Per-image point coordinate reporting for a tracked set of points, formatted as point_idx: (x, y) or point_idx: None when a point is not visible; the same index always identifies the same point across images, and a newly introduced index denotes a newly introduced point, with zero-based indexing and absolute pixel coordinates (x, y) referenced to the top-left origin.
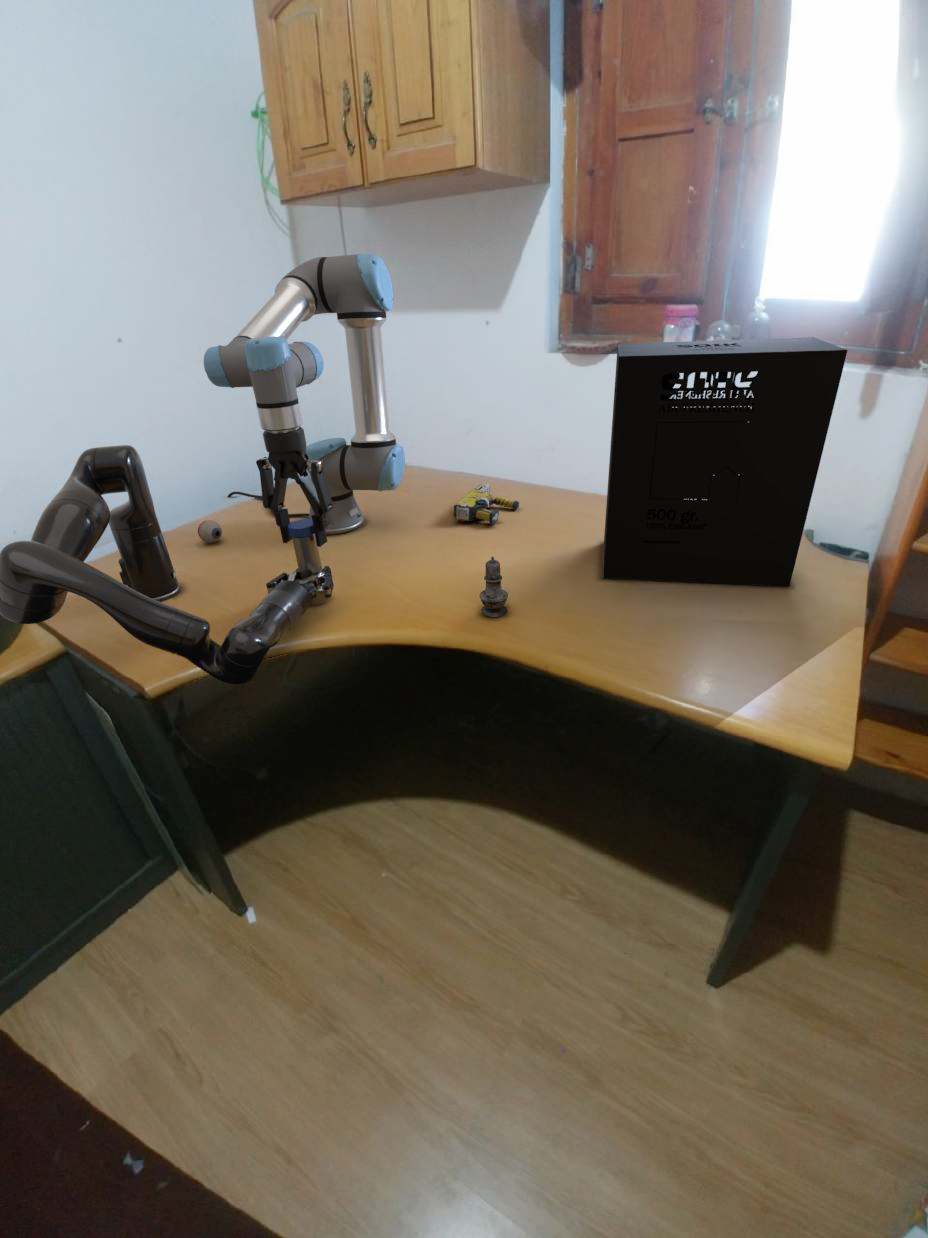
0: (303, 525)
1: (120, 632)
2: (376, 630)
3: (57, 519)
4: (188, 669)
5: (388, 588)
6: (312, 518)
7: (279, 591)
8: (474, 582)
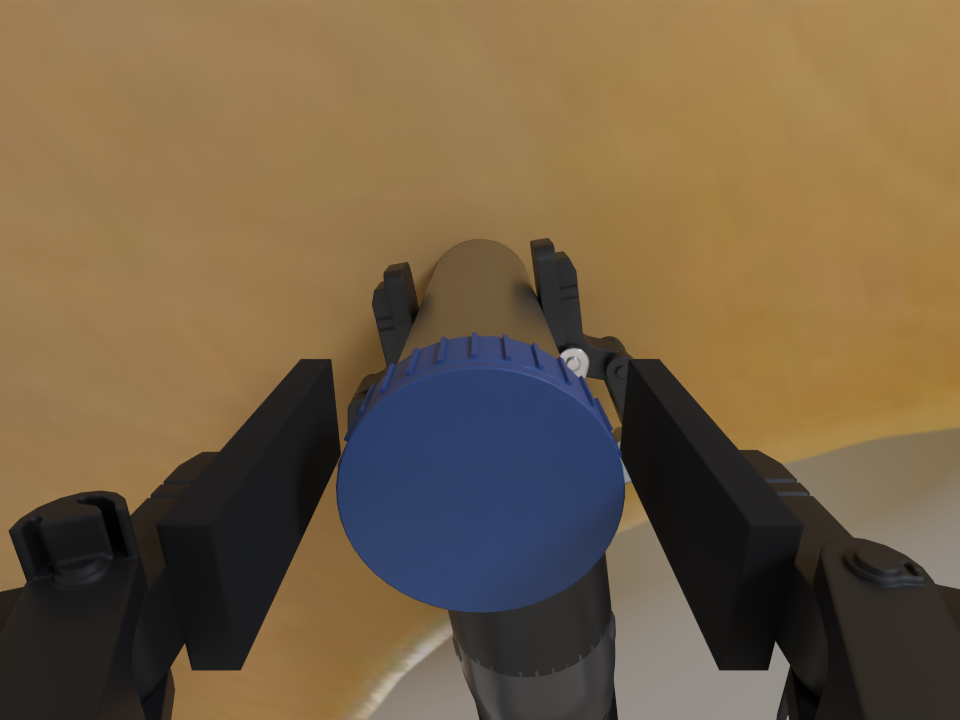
0: (526, 531)
1: None
2: (823, 435)
3: None
4: (347, 715)
5: (779, 82)
6: (712, 640)
7: (546, 686)
8: None
